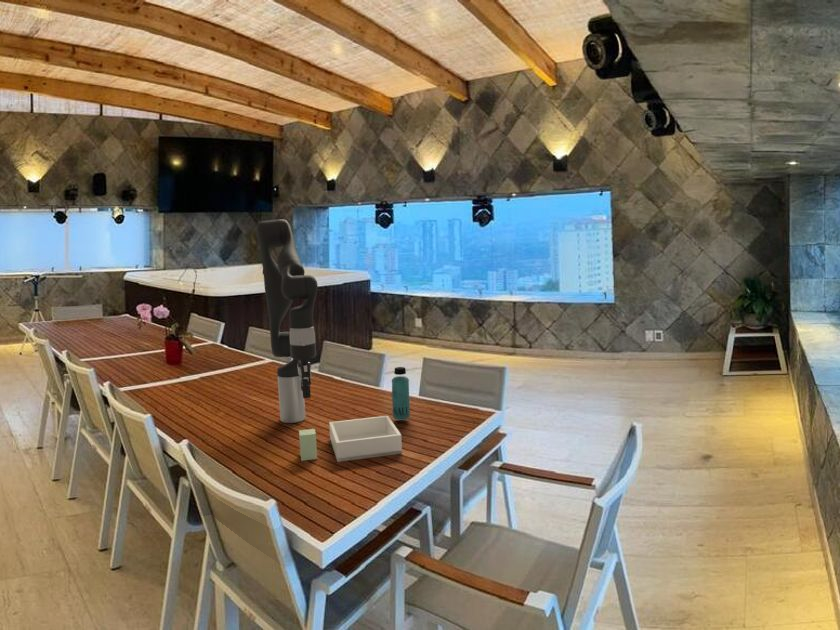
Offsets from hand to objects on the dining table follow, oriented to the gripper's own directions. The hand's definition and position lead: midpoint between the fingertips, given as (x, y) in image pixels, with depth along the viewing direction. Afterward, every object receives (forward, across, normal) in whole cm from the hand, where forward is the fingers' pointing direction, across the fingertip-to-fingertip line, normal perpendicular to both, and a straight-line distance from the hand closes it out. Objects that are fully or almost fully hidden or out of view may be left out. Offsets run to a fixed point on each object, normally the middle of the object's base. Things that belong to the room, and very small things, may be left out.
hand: (305, 394), depth 172 cm
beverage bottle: (+20, -23, +35) cm, 46 cm away
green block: (+20, 0, 0) cm, 20 cm away
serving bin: (+20, -3, +18) cm, 27 cm away
